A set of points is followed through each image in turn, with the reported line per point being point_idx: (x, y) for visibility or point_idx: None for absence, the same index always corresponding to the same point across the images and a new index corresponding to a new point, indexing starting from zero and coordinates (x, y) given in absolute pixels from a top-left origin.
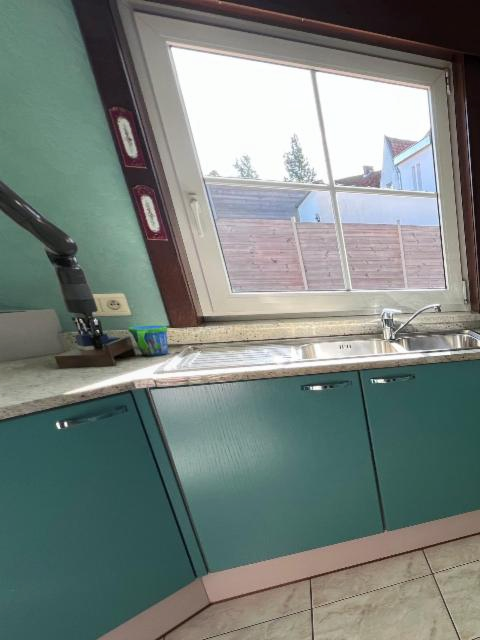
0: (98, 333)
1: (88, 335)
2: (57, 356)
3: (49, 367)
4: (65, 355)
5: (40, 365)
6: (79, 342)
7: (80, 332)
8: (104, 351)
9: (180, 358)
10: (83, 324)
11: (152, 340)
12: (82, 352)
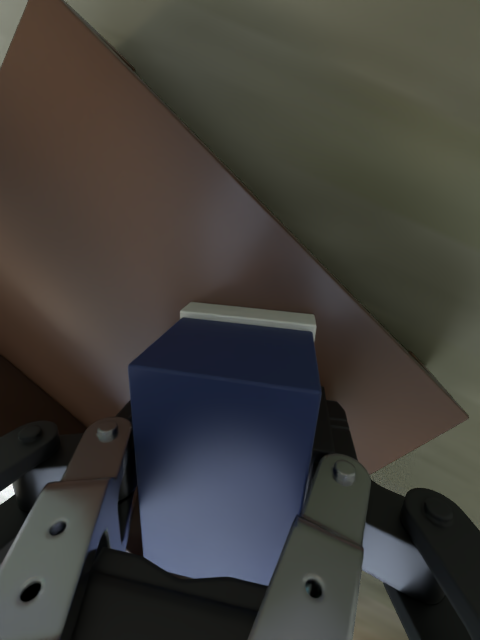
0: (15, 488)
1: (133, 435)
2: (28, 3)
3: (208, 20)
4: (14, 69)
5: (368, 10)
6: (251, 337)
7: (407, 517)
8: (35, 335)
9: (6, 496)
10: (11, 621)
11: None
12: (91, 234)
